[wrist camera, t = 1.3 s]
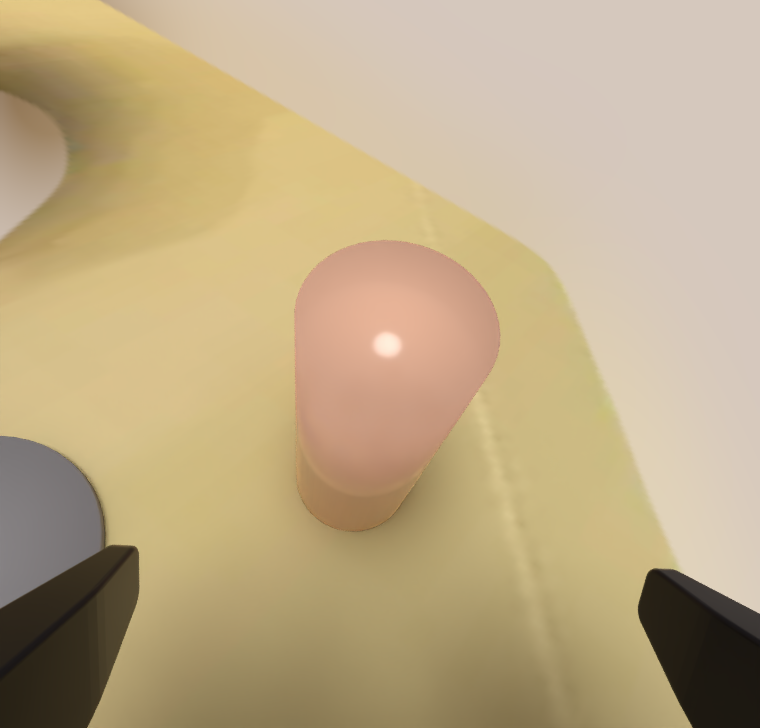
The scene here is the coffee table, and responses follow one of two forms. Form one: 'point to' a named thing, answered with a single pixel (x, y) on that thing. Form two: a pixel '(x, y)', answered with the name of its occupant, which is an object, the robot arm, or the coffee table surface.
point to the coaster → (43, 517)
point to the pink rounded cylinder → (383, 374)
